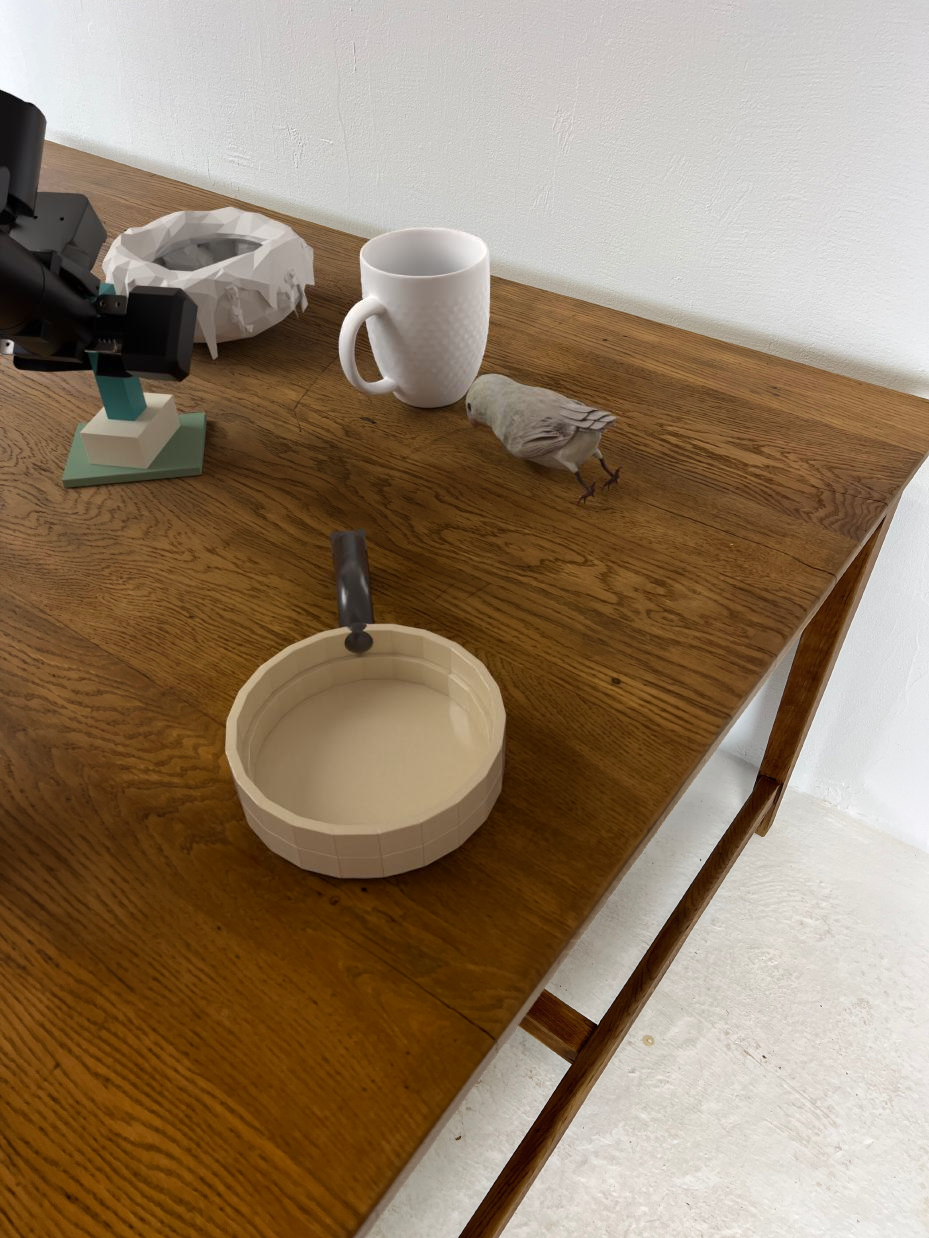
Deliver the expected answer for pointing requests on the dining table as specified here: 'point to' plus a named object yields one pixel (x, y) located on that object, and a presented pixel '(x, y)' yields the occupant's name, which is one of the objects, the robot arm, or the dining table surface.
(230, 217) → the bowl
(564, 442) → the decorative bird
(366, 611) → the pan handle
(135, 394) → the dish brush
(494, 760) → the pan
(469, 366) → the mug
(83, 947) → the dining table surface
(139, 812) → the dining table surface
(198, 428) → the mat
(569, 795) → the dining table surface
